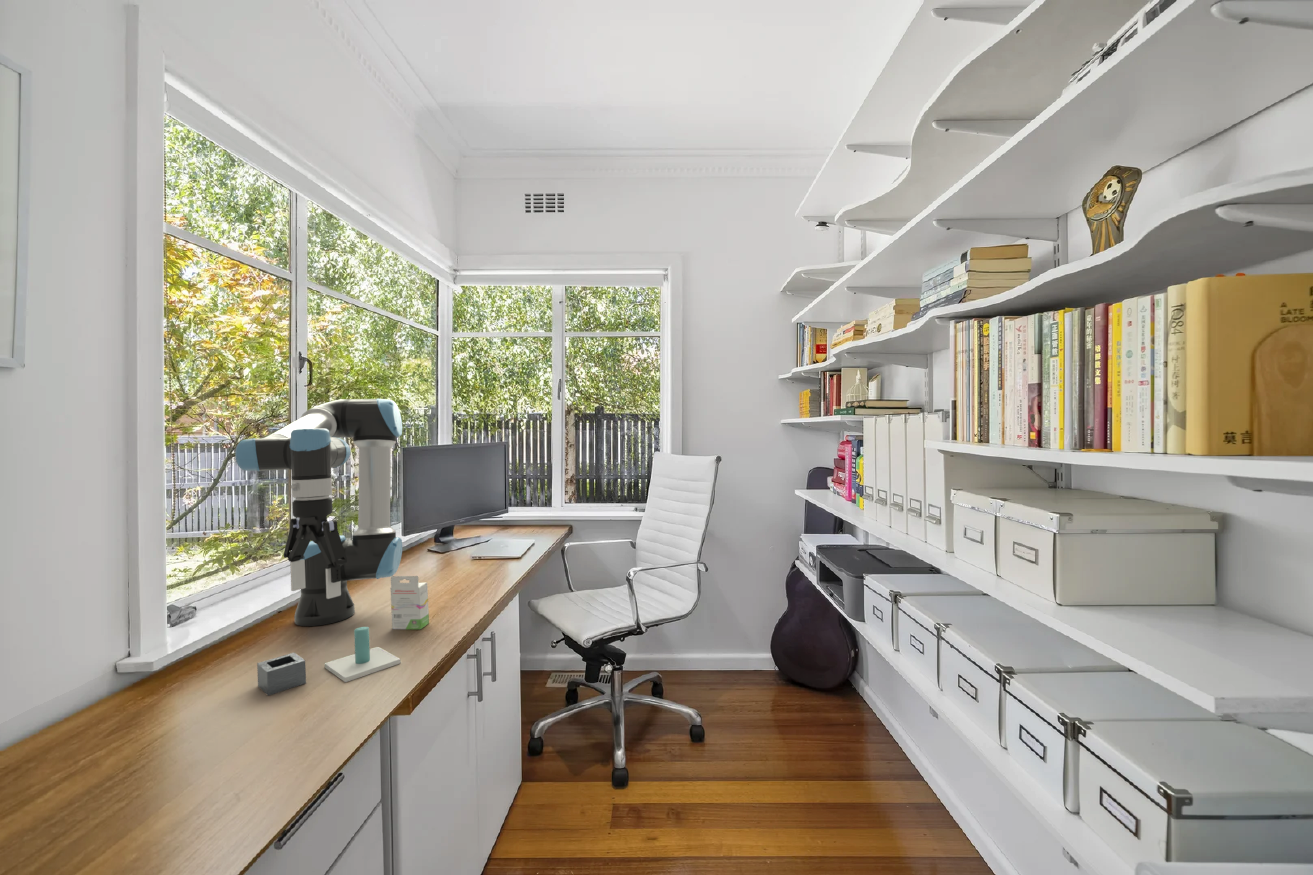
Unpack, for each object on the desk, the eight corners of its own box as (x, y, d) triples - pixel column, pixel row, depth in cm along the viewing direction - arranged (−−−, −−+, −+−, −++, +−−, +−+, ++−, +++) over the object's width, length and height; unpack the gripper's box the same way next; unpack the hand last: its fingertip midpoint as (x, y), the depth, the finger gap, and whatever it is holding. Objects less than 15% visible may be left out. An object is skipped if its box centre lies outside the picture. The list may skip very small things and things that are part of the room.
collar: (258, 685, 118) (257, 663, 118) (295, 674, 124) (294, 652, 124) (267, 695, 114) (267, 671, 114) (306, 683, 119) (305, 660, 119)
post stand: (324, 667, 127) (323, 631, 127) (378, 650, 136) (377, 616, 136) (345, 682, 119) (343, 643, 119) (400, 663, 128) (399, 627, 128)
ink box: (430, 623, 155) (428, 571, 154) (420, 629, 150) (419, 576, 149) (401, 622, 155) (399, 571, 155) (390, 629, 150) (389, 576, 150)
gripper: (263, 497, 124) (267, 590, 125) (328, 502, 112) (332, 605, 113) (298, 493, 131) (301, 582, 131) (363, 497, 119) (366, 595, 119)
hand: (315, 593), depth 122 cm, fingers open, 13 cm apart
